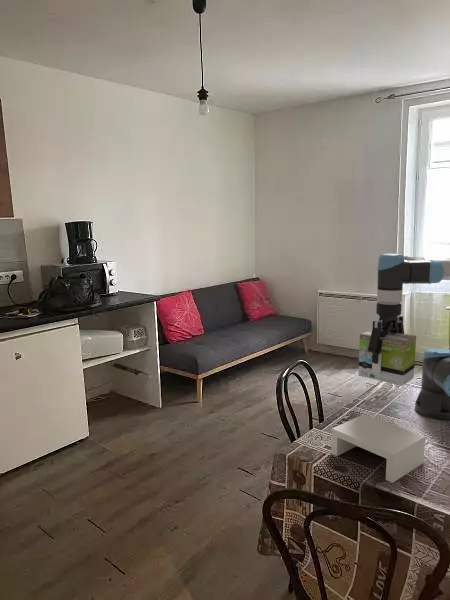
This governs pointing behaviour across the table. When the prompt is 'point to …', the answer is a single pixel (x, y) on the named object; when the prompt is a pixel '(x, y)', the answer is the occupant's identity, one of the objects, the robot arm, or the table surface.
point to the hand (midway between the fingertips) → (386, 369)
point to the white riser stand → (381, 443)
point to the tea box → (389, 358)
